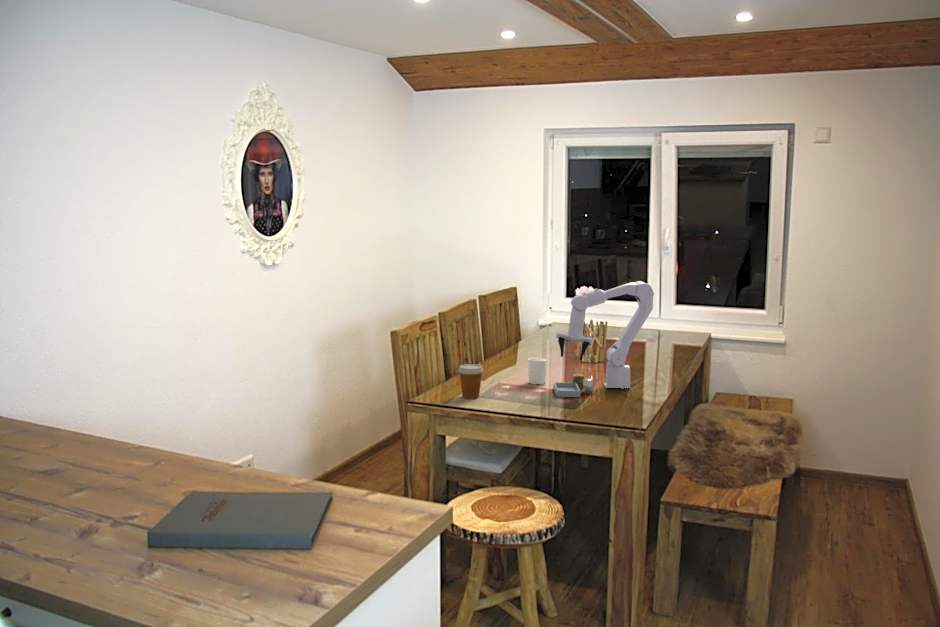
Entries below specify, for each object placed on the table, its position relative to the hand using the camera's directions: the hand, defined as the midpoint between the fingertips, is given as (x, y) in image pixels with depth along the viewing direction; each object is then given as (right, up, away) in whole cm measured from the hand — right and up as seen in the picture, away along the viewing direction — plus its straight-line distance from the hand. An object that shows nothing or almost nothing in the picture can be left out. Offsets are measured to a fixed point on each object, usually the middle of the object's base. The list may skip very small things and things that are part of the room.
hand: (571, 358), depth 318 cm
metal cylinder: (+6, -13, -6) cm, 15 cm away
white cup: (-13, -11, +9) cm, 19 cm away
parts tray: (-3, -13, -7) cm, 15 cm away
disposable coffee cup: (-40, -14, -14) cm, 45 cm away
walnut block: (+3, -12, +2) cm, 12 cm away
